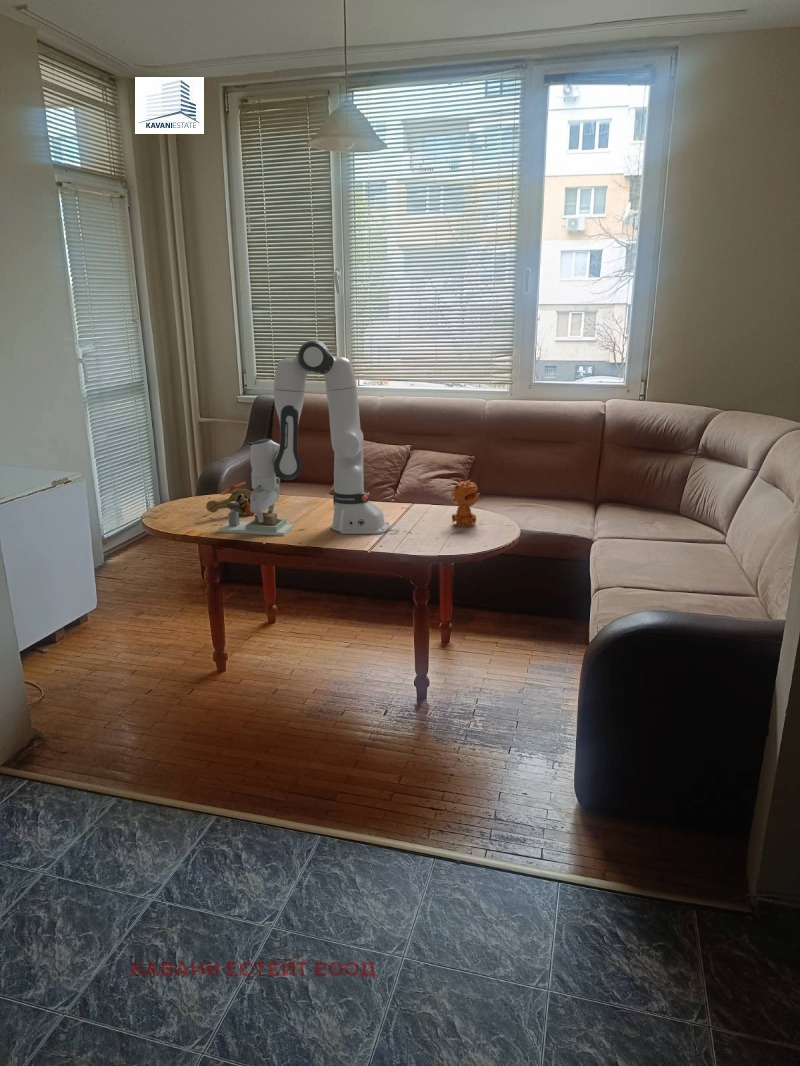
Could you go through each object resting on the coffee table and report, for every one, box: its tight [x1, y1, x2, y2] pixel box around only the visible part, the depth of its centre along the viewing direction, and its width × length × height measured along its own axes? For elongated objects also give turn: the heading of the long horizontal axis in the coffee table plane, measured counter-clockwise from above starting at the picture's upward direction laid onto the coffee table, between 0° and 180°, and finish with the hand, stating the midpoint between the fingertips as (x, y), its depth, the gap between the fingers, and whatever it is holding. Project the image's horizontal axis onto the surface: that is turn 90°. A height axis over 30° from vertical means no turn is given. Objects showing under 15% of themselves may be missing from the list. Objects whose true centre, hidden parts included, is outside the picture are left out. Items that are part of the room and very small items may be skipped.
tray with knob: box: [218, 511, 295, 537], centre depth 271 cm, size 26×11×6 cm, turn 79°
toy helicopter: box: [205, 481, 256, 516], centre depth 288 cm, size 8×21×14 cm, turn 132°
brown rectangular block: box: [254, 512, 278, 526], centre depth 270 cm, size 7×5×5 cm
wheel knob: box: [226, 502, 239, 513], centre depth 272 cm, size 4×4×5 cm
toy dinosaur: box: [450, 479, 481, 527], centre depth 275 cm, size 11×11×18 cm
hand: (266, 518), depth 270 cm, fingers open, 8 cm apart
